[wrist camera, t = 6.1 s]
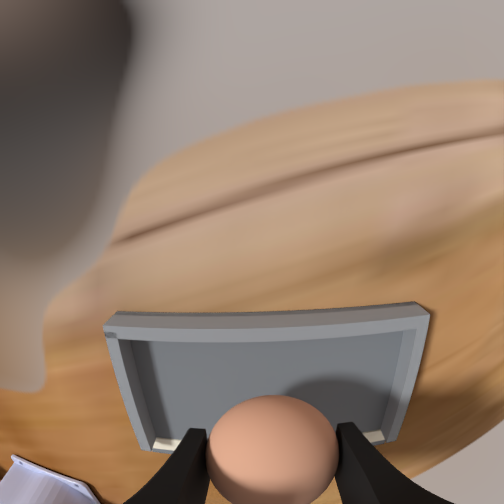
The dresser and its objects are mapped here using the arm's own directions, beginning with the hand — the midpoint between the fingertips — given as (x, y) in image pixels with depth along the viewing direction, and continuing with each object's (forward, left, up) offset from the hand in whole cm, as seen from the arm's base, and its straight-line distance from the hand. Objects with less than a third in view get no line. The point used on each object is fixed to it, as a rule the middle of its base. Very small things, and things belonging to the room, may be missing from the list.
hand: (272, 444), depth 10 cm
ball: (0, 0, +1) cm, 1 cm away
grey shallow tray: (0, 0, -4) cm, 4 cm away
